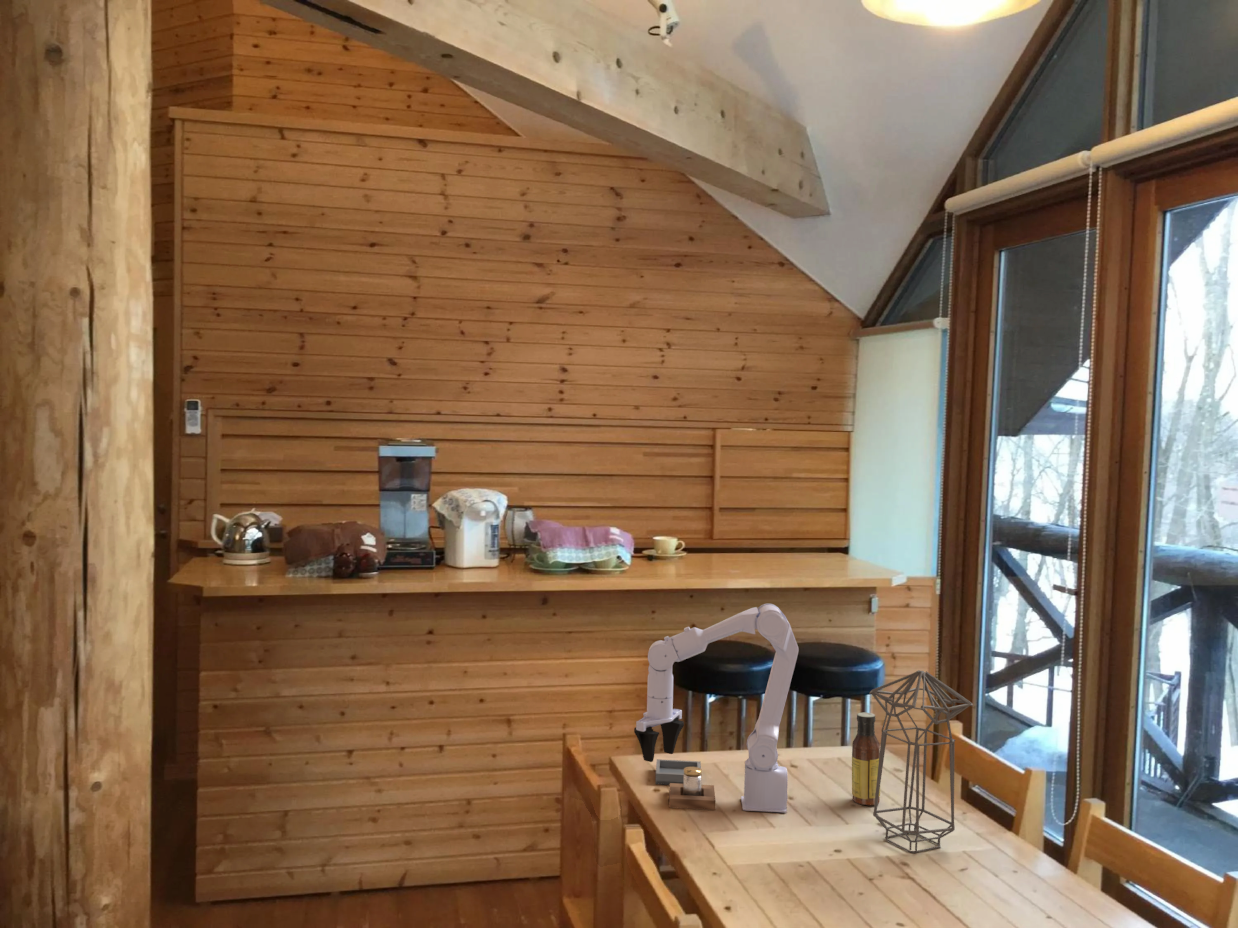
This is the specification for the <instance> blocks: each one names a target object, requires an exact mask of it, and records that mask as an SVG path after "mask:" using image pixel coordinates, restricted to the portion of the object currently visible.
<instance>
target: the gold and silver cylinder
mask: <svg viewBox="0 0 1238 928" xmlns="http://www.w3.org/2000/svg"><path fill="white" fill-rule="evenodd" d="M702 777H703V770H702V767H701V768H698V767H686V768H684V781H683V795H687V796H701V785H702Z"/></svg>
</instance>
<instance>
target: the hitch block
mask: <svg viewBox="0 0 1238 928" xmlns="http://www.w3.org/2000/svg"><path fill="white" fill-rule="evenodd" d="M668 798H669V799H668V800H669V801H668V805H669V806H668V808H669V807H670V809H673V808H676V809H688V810H689V809H692V810H708V811H709V810H710V811H716V802H717V801H716V791H715V785H714V784H713V785H712V784H711V785H710V784H701V796H687V795H683V784H678V783H670V785H669V797H668Z"/></svg>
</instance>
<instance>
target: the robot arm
mask: <svg viewBox="0 0 1238 928" xmlns="http://www.w3.org/2000/svg"><path fill="white" fill-rule="evenodd" d="M792 629H793V628H792V626H791V624H790V622H789V621H788V618H787V616H786V615H785V614H784V612H783V611H782V610H781V609H780V608H779V607H778V606H777V605H775V604H773V603H763V604H761V605H760V606H759V607H758V606H755V607H751V608H748V609H746V610H743V611H741V612H738V613H736V614H734V615H732V616H730V617H727V618H726V619H724V620H721V621H719V622H717V623H715V624H713V625H710V626H709V627H706V628H703V629H701V628H698V627H695V626H693V627H692V628H690V626H686V627H684V628H683V631H682V632H680V633H677V634H675V635H674V634H673V635H672V636H669V635H667V636H664V638H663V639H664V640H661V639H660V640H656V641H654V642H653V643H652V644H651V645H650V647H649V649H648V651H647V660H648V664H649V665H648V668H647V669H648V670H647V671H648V674H647V685H646V686H647V689H646V690H647V691H646V692H647V693H646V711H645V712H643V713H642V714H643V717H642V718H641V719H639V720H636V721H635V723H636V724H635V727H634V729H633V730H634V731H633V733H634V734H635V736H636V738H637V740H638V743H639V745H640V749H641V753H642V758H643V761H645V762H650V763H652V762H654V758H655V752H656V745H657V744H656V743H657V740H658V737H659V735H660V731H659V732H658V731H655V730H654V728H655V727H657V726H660V728H661V733H662V746H663V753H665V754H670V755H674V753H675V752H674V751H675V748H676V744H677V740H678V738H679V736H680V733H681V731H682V729H683V727H684V726H685V721H683V720H682V719H683V717H682V716H683V710H682V709H679V708H673V707H674V705H673V704H674V674H673V665H674V663H675V662H677V663H679V662H683V661H685V660H686V659H690V658H692V657H695V656H697V655H699V654H701V653H704V652H705V651H706V649H707V647H708V645H709V644H710V643H713V642H716V641H719V640H721V639H724V638H727V637H730V636H733V635H735V634H738V633H741V632H743V633H747V634H751V635H756V630H757V632H758V633H759V634H760V635H761V636H762V637H764V638H765V639H766V640H767V641H768V642H769V643H770V645H771V646H772V647H773V650H774V651H775V653H774V657H773V662H772V664H771V669H770V674H769V675H768V681H767V685H766V688H765V693H764V696H763V700H762V703H761V707H760V712H759V714H758V715H759V716H758V719H757V720H756V723H755V725H754V729H753V731H752V732H751V733H750V734H748V736H747V740H746V748H747V751H748V758H747V759H746V760H745V762H744V780H743V781H744V785H743V786H744V787H743V791H744V792H743V795H741V796H740V801H741V807H742V810H743V811H750V812H767V813H768V812H769V813H784V814H786V813H788V812H787V810H788V809H787V807H788V806H787V805H788V804H787V803H788V796H789V795H788V781H789V780H788V769H787V766H781V765H779V763H778V759H779V753H778V748H777V745H778V740H779V733H780V732H779V731H780V724H781V721H782V717H783V715H784V714H783V713H784V710H785V706H786V702H787V698H788V693H789V691H790V687H791V682H792V678H793V675H794V671H795V668H796V663H797V660H798V655H799V652H800V651H799V650H800V649H799V646H798V643H797V640H796V638H795V635H794V632H793V630H792Z"/></svg>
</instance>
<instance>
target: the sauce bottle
mask: <svg viewBox="0 0 1238 928" xmlns="http://www.w3.org/2000/svg"><path fill="white" fill-rule="evenodd" d="M856 720H857V731H856V732H857V734H856V735H855V737H854V739H853V741H852V746H851V747H852V748H851V749H852V752H851V795H852V800H853V802H854V803H856V804H858V805H862V806H868V807H869V806H874V804H875V794H876V785H877V775H878V765H879V755H880V745H881V743H880V742H879V740H878V738H877V736H876V734H875V733H876V732H875V725H876V724H875V723H876V714H875V713H872V712H871V713H870V712H865V711H864V712H858V713H856ZM880 796H881V789H880V790H879V798H878V804H880V801H881V799H880V798H881V797H880Z"/></svg>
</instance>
